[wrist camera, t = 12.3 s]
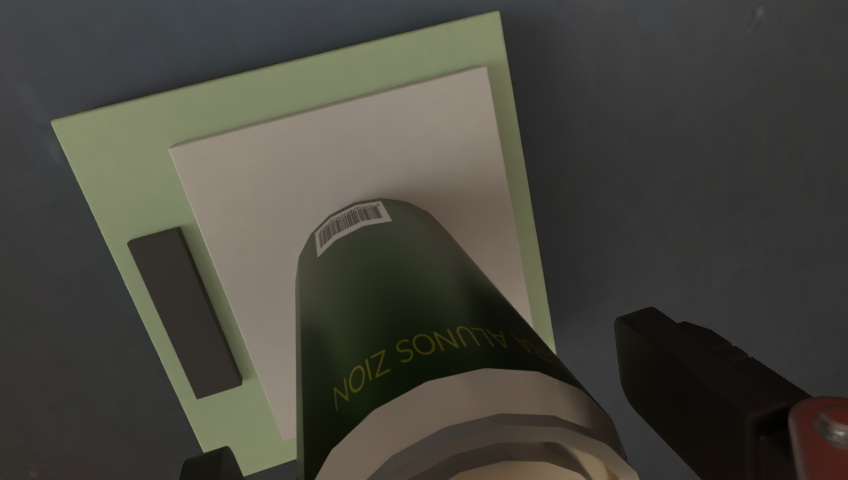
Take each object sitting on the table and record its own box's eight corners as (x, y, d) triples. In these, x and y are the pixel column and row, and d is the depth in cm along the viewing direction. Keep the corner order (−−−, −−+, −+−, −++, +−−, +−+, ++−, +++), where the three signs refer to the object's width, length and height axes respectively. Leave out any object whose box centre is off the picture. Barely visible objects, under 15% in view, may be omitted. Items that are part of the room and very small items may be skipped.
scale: (227, 435, 24) (215, 501, 20) (84, 111, 19) (37, 124, 16) (531, 336, 26) (568, 381, 22) (472, 15, 21) (509, 7, 17)
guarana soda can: (260, 257, 18) (207, 586, 7) (396, 159, 18) (563, 330, 7) (358, 369, 20) (441, 762, 9) (481, 281, 20) (715, 565, 9)
